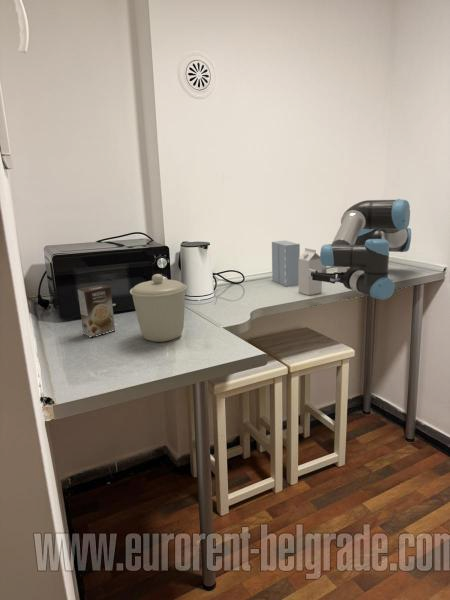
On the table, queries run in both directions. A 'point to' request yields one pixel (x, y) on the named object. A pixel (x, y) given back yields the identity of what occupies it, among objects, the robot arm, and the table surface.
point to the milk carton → (307, 262)
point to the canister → (160, 308)
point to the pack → (285, 262)
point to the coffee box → (96, 310)
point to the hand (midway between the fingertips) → (323, 270)
